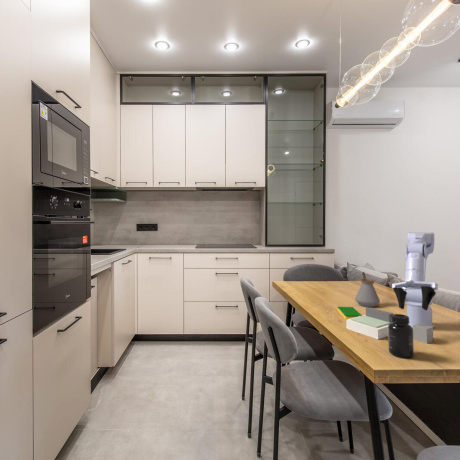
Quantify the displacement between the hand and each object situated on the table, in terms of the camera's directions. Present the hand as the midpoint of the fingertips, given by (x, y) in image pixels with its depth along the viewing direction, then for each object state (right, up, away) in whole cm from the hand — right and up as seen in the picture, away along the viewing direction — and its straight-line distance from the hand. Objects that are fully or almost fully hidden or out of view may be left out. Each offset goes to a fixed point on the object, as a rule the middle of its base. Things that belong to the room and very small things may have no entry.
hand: (412, 308), depth 99 cm
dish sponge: (-10, -12, +30) cm, 34 cm away
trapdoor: (-9, -8, +11) cm, 16 cm away
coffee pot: (+8, -11, +51) cm, 53 cm away
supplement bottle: (-10, -12, -10) cm, 18 cm away
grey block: (+4, -11, +1) cm, 12 cm away
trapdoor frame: (-9, -11, +11) cm, 18 cm away
